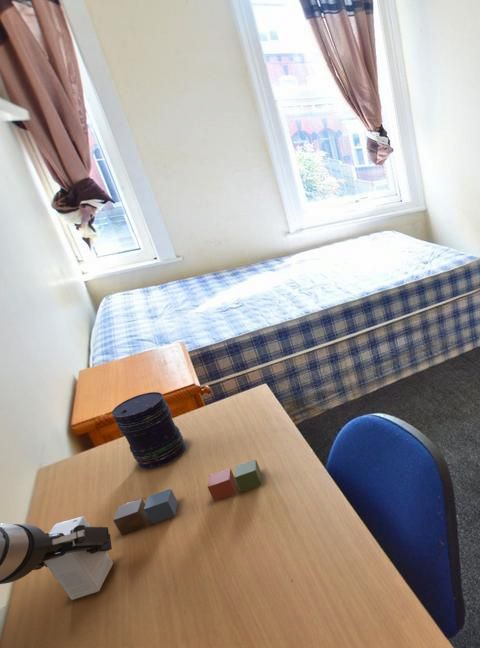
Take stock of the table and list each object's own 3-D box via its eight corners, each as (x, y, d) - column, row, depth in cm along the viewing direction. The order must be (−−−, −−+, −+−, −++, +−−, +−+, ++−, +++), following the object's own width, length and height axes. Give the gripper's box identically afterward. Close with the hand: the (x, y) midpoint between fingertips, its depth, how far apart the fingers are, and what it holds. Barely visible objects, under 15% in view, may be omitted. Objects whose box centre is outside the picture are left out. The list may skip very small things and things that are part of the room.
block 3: (214, 501, 97) (207, 487, 96) (215, 489, 101) (209, 475, 99) (235, 494, 99) (229, 479, 97) (236, 482, 102) (230, 467, 100)
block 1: (121, 535, 91) (112, 520, 90) (126, 521, 95) (118, 506, 93) (145, 526, 93) (137, 511, 91) (150, 512, 96) (142, 498, 94)
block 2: (151, 524, 93) (143, 509, 91) (155, 510, 96) (147, 496, 95) (175, 515, 95) (167, 501, 93) (178, 502, 98) (170, 488, 96)
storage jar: (172, 438, 119) (148, 388, 114) (195, 446, 115) (172, 395, 109) (129, 463, 111) (102, 412, 105) (152, 474, 107) (125, 421, 101)
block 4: (240, 492, 99) (234, 477, 97) (241, 480, 102) (235, 466, 101) (261, 484, 101) (255, 470, 99) (261, 473, 104) (255, 459, 102)
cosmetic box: (86, 571, 84) (55, 522, 79) (114, 563, 85) (84, 514, 81) (69, 601, 79) (34, 551, 74) (99, 592, 80) (66, 542, 75)
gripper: (-95, 617, 59) (27, 595, 79) (80, 553, 65) (151, 548, 86) (-94, 555, 61) (25, 549, 81) (75, 499, 68) (145, 507, 88)
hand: (89, 549), depth 84 cm, fingers closed on cosmetic box, 5 cm apart
